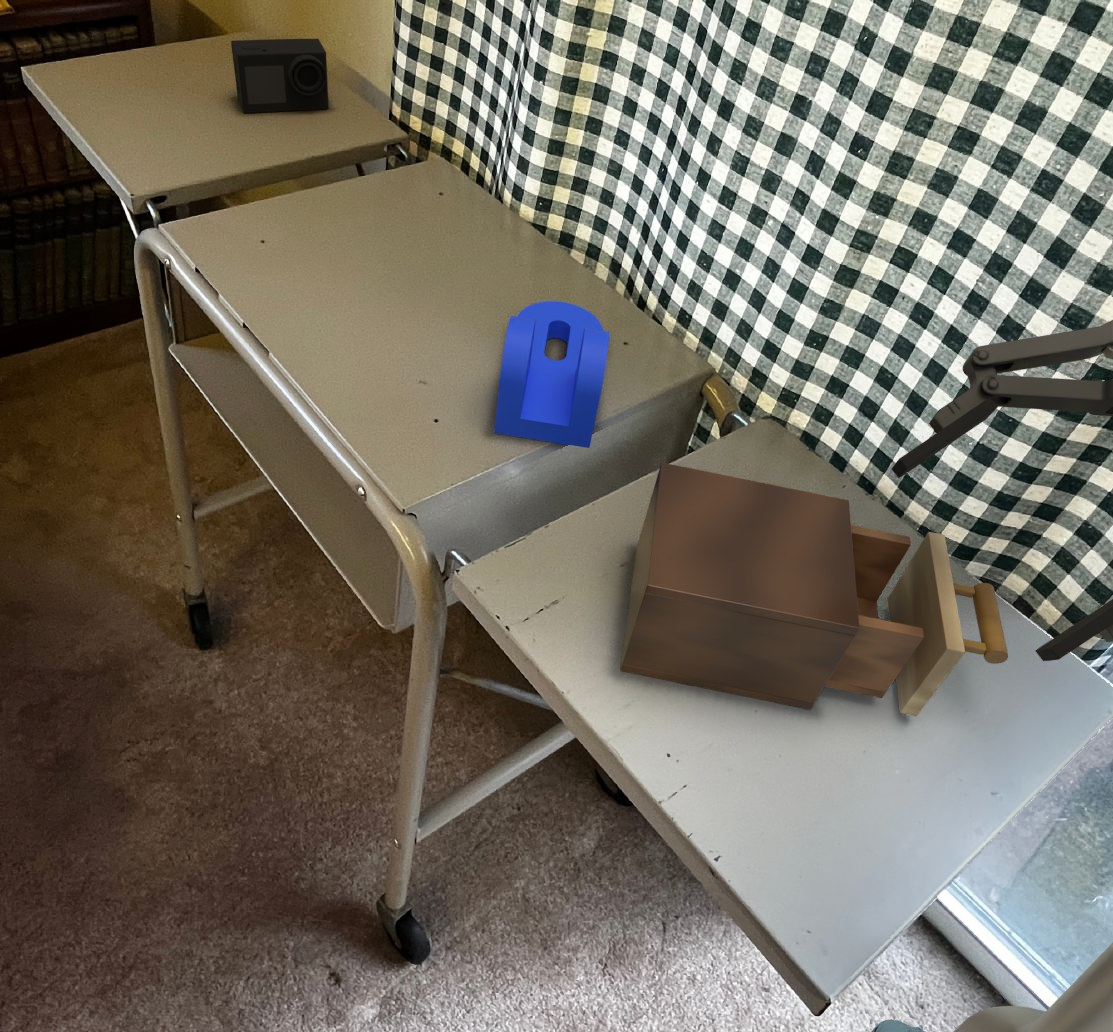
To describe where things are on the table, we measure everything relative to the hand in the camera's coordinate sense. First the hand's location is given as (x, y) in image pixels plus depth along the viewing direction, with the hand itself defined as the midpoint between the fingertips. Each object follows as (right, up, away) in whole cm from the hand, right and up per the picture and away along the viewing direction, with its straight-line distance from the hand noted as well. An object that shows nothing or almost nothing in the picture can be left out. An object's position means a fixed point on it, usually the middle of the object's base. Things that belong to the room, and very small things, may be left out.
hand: (969, 559), depth 57 cm
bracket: (-25, +15, +32) cm, 43 cm away
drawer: (-3, -7, +13) cm, 15 cm away
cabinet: (-13, -6, +14) cm, 20 cm away
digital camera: (-58, +53, +61) cm, 99 cm away
